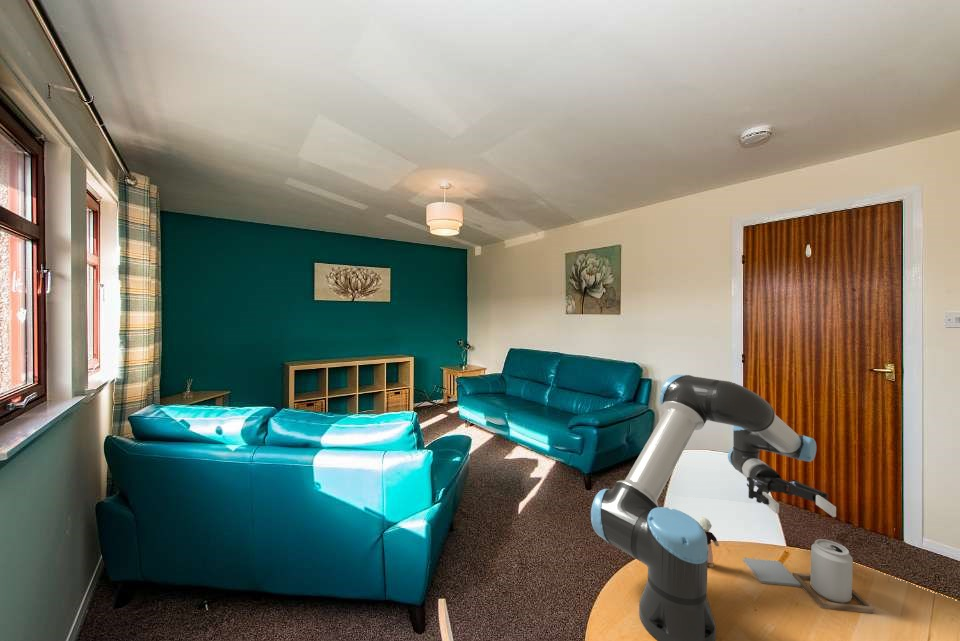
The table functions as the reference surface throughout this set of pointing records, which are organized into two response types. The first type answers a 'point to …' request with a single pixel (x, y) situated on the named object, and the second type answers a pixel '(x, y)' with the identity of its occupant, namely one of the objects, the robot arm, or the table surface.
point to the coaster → (771, 572)
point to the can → (831, 570)
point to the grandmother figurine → (708, 538)
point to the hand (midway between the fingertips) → (805, 510)
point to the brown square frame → (829, 605)
